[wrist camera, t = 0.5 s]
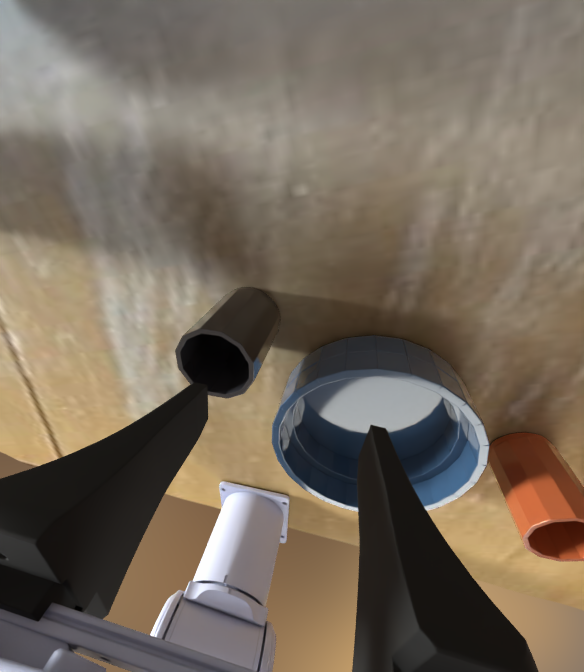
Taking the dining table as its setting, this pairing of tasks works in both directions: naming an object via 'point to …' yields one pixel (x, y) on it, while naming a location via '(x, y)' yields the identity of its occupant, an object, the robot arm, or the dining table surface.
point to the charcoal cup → (229, 342)
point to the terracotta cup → (540, 495)
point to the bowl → (379, 420)
